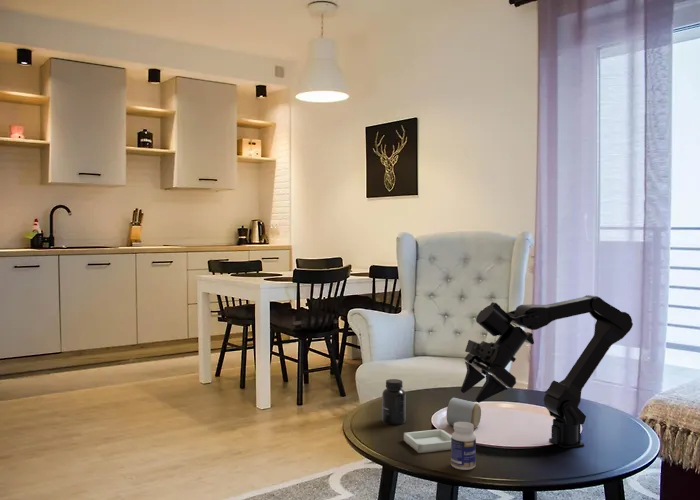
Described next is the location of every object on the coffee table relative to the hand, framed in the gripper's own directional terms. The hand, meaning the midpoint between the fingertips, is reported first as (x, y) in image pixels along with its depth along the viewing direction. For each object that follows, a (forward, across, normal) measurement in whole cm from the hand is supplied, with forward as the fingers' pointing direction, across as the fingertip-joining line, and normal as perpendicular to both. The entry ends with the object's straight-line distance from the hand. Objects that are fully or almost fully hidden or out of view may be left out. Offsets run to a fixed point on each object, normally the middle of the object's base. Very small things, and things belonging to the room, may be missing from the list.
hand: (469, 396), depth 157 cm
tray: (+16, -7, +3) cm, 17 cm away
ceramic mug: (+6, -21, +15) cm, 26 cm away
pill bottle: (+14, +9, +5) cm, 17 cm away
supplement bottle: (+18, -28, 0) cm, 33 cm away
